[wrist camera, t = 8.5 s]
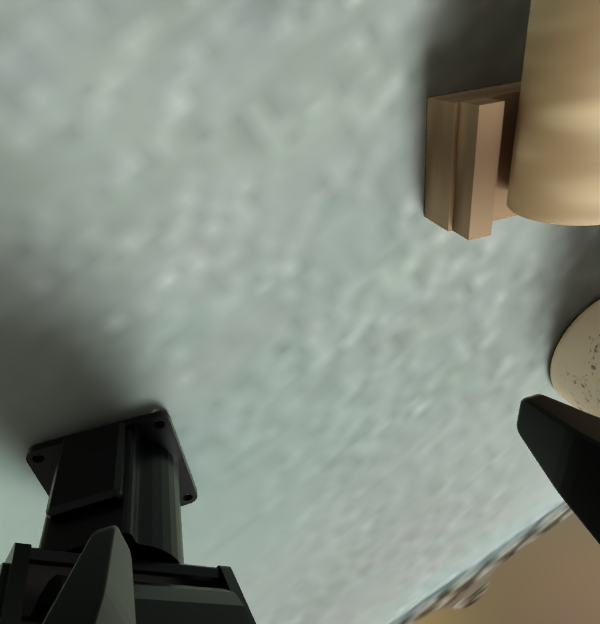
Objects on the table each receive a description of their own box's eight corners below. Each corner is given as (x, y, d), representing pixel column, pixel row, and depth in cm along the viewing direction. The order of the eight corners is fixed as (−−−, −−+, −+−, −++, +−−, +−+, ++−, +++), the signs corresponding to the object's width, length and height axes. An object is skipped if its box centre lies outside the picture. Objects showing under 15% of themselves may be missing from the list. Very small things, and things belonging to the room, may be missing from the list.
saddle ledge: (581, 181, 22) (639, 199, 20) (424, 216, 21) (463, 241, 18) (604, 66, 20) (674, 69, 17) (427, 97, 18) (474, 106, 16)
